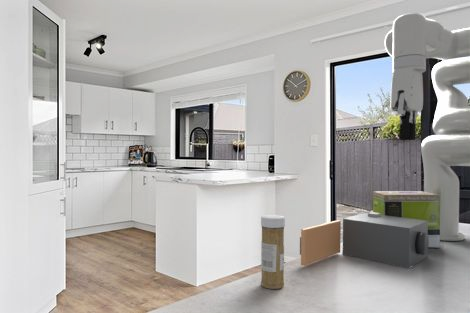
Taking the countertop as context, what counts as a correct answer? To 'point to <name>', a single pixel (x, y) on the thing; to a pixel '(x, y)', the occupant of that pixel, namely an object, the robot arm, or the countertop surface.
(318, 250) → the door
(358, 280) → the countertop surface
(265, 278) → the sprinkles bottle
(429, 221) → the tea box
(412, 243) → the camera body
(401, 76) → the robot arm
